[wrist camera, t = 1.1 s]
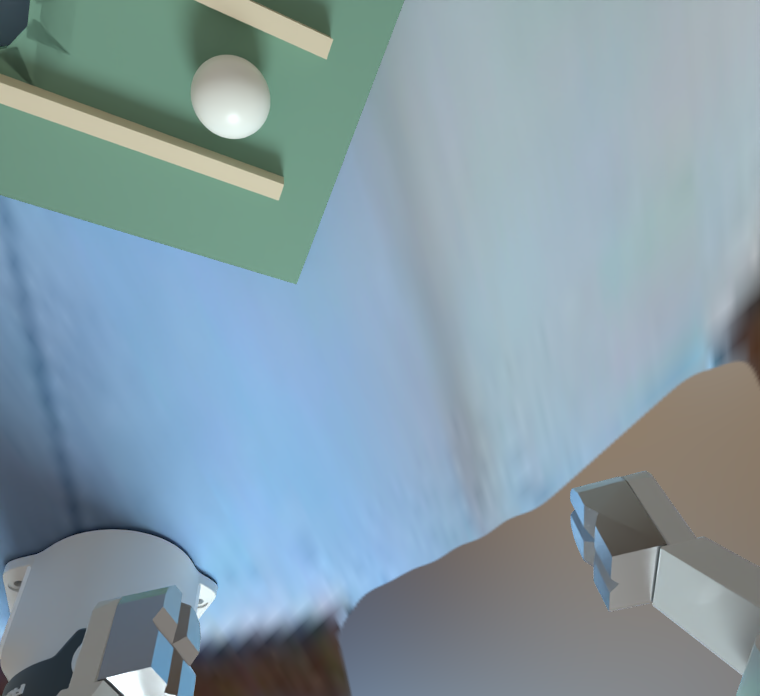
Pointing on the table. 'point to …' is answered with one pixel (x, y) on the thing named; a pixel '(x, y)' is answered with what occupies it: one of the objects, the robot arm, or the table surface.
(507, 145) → the table surface
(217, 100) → the ball
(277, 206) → the putting mat
